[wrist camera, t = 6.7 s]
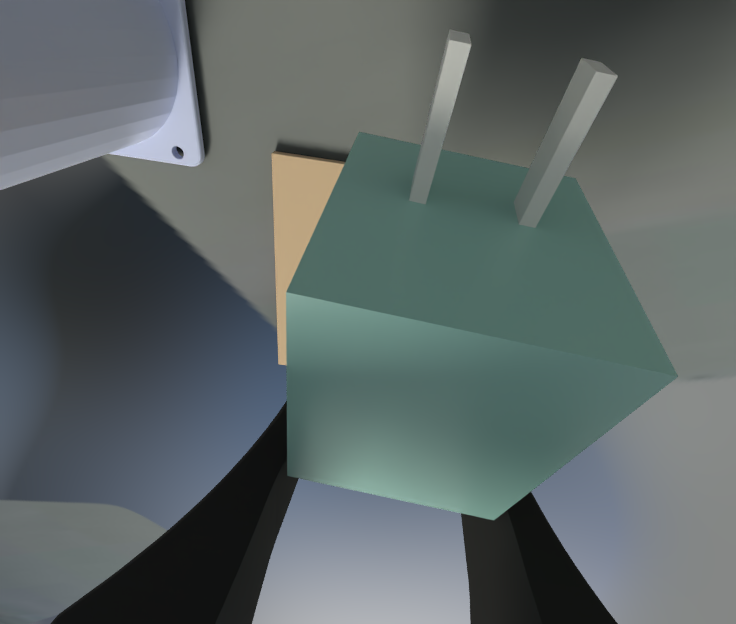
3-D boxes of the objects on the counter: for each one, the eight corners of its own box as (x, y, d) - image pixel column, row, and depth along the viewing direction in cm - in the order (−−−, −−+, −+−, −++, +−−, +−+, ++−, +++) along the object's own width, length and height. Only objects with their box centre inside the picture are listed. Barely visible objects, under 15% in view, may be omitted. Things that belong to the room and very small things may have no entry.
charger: (335, 313, 13) (287, 476, 9) (376, -4, 7) (284, 74, 3) (480, 344, 13) (494, 520, 9) (645, 54, 7) (895, 206, 3)
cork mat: (280, 359, 23) (278, 363, 23) (274, 151, 16) (271, 153, 16) (478, 393, 23) (478, 398, 22) (559, 194, 16) (562, 197, 15)
